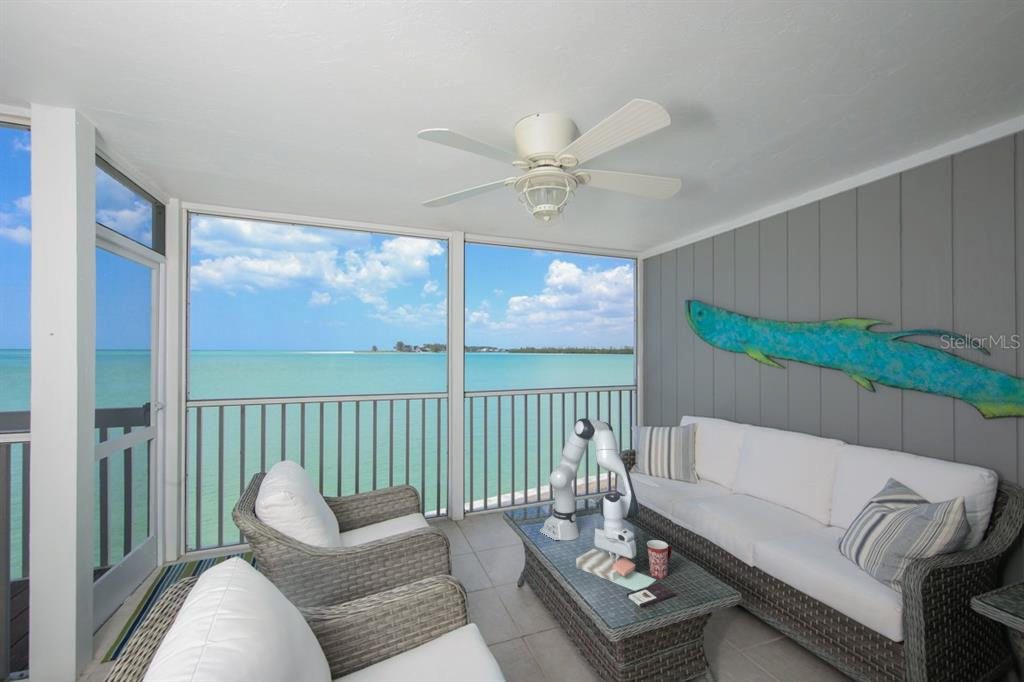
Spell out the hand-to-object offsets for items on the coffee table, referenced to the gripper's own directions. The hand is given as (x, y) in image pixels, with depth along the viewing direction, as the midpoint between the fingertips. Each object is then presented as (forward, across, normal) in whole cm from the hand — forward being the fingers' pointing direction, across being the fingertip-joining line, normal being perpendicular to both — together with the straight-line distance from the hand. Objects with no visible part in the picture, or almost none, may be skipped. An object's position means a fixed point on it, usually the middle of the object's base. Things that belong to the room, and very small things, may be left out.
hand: (615, 561), depth 199 cm
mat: (+5, +9, 0) cm, 11 cm away
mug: (+6, +15, +14) cm, 21 cm away
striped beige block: (+5, -7, 0) cm, 9 cm away
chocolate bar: (+5, +21, -6) cm, 22 cm away
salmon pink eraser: (+2, +4, 0) cm, 4 cm away
